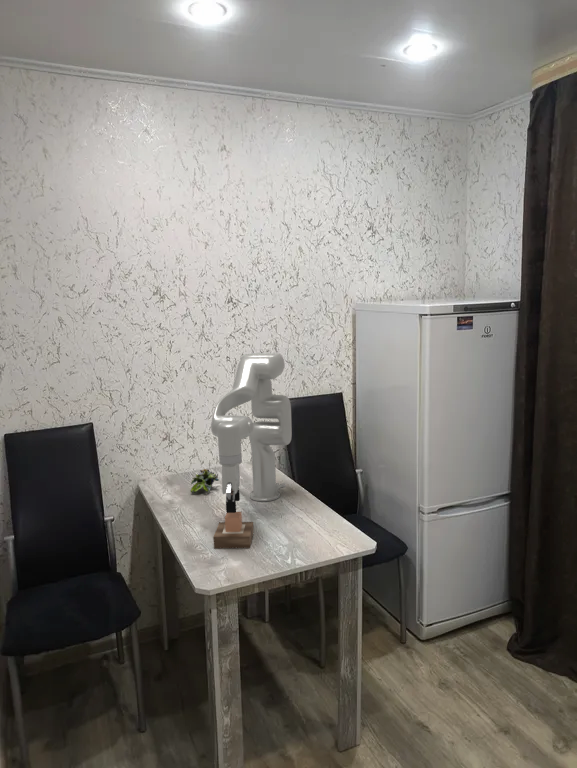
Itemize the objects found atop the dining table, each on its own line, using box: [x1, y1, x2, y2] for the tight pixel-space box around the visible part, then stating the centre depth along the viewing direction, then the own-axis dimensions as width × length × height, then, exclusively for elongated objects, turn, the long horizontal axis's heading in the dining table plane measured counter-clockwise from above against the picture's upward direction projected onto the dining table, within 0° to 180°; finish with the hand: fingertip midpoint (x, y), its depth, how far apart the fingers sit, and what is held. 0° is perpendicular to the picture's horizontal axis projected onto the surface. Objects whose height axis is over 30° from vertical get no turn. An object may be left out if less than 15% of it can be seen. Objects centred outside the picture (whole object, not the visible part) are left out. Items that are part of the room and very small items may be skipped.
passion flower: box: [190, 468, 220, 495], centre depth 239 cm, size 11×11×12 cm
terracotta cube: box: [224, 511, 243, 532], centre depth 190 cm, size 5×5×5 cm
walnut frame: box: [212, 521, 255, 549], centre depth 191 cm, size 12×12×4 cm
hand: (233, 506), depth 190 cm, fingers open, 9 cm apart
